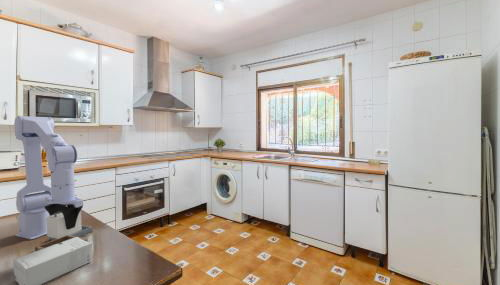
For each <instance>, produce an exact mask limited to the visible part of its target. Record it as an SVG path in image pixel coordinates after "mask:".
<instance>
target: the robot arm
mask: <svg viewBox="0 0 500 285" xmlns="http://www.w3.org/2000/svg"><path fill="white" fill-rule="evenodd" d="M13 124H14V125H13V126H14V135H15V139H16V140H17V141H21V142H22V145H23V154H24V155H23V157H24V167H25V181H26V185H24V186H23V187H22V188H20V190H18V191H17V193H16V200H15V204H16V210H17V211H18V213H20V214H19V215H18V216H17V217H18V218H17V224H18V225H17V227H18V233H17V234H15V237H19V238H24V239H28V240H34V239H37V238H40V237H42V236H45V235H46V236H47V222H46V217H48V216H52V215H54V213H56V212H59V211H61V212H62V214H63V216H64V219H65V225H66V229H71V228H74V227H75V225H76V221H77V217H78V215H79V212H80V211H82V209H83V207H84V199H81V198H79V197H78V196H76V188H75V164H76V162H77V160H78V151H77V148H76V147H75V145H74V144H68V143H67V142H66V141H65V140H64V138H63V137H62V136H61V135H60V134H58V133H55V132H54V130H55V121H54V119H53V118H52V117H51V116H24V115H23V116H21V115H17V116H16V117H15V118H14V123H13ZM42 149H43V150H44V151H45V152H46V154H45V155H46V162H47V165H48V171H49V172H50V184H51V185H48V184H46V183H45V182H44V171H43V159H42V156H43V155H42Z"/></svg>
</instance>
